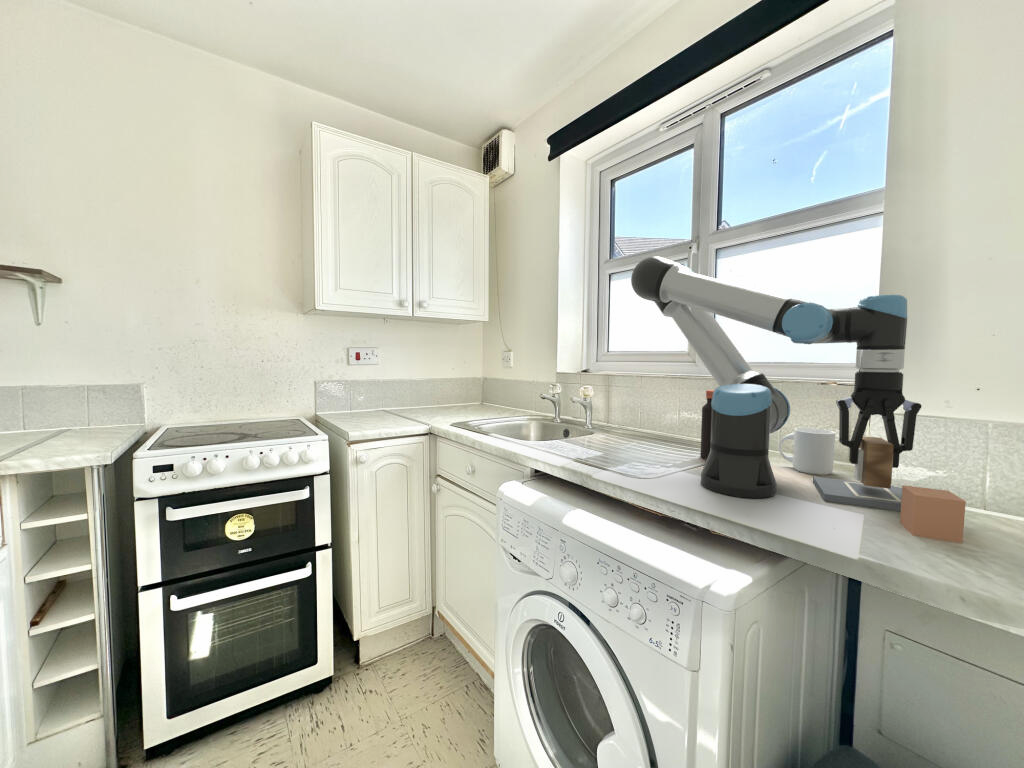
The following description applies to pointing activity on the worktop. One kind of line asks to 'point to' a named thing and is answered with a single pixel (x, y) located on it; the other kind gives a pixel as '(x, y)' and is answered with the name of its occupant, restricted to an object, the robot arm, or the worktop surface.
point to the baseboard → (858, 493)
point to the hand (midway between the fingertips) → (872, 480)
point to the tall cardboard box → (877, 462)
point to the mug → (811, 450)
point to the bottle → (706, 426)
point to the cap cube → (932, 513)
